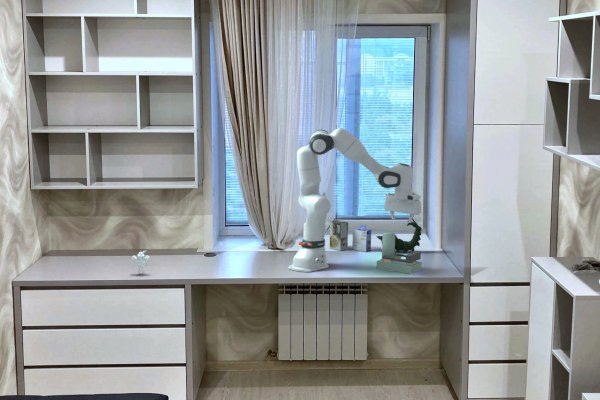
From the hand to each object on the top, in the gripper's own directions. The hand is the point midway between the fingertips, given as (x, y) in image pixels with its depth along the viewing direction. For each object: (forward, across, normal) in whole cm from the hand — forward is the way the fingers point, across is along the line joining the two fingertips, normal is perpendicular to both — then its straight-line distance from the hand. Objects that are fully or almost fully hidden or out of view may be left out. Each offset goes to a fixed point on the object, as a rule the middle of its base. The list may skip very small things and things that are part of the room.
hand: (401, 221), depth 401 cm
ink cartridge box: (+26, -38, +23) cm, 51 cm away
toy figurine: (+25, -18, +32) cm, 45 cm away
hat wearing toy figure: (+30, -98, -90) cm, 137 cm away
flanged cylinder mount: (+25, +1, -1) cm, 25 cm away
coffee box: (+26, -50, +17) cm, 58 cm away
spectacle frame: (+20, +2, -1) cm, 20 cm away
